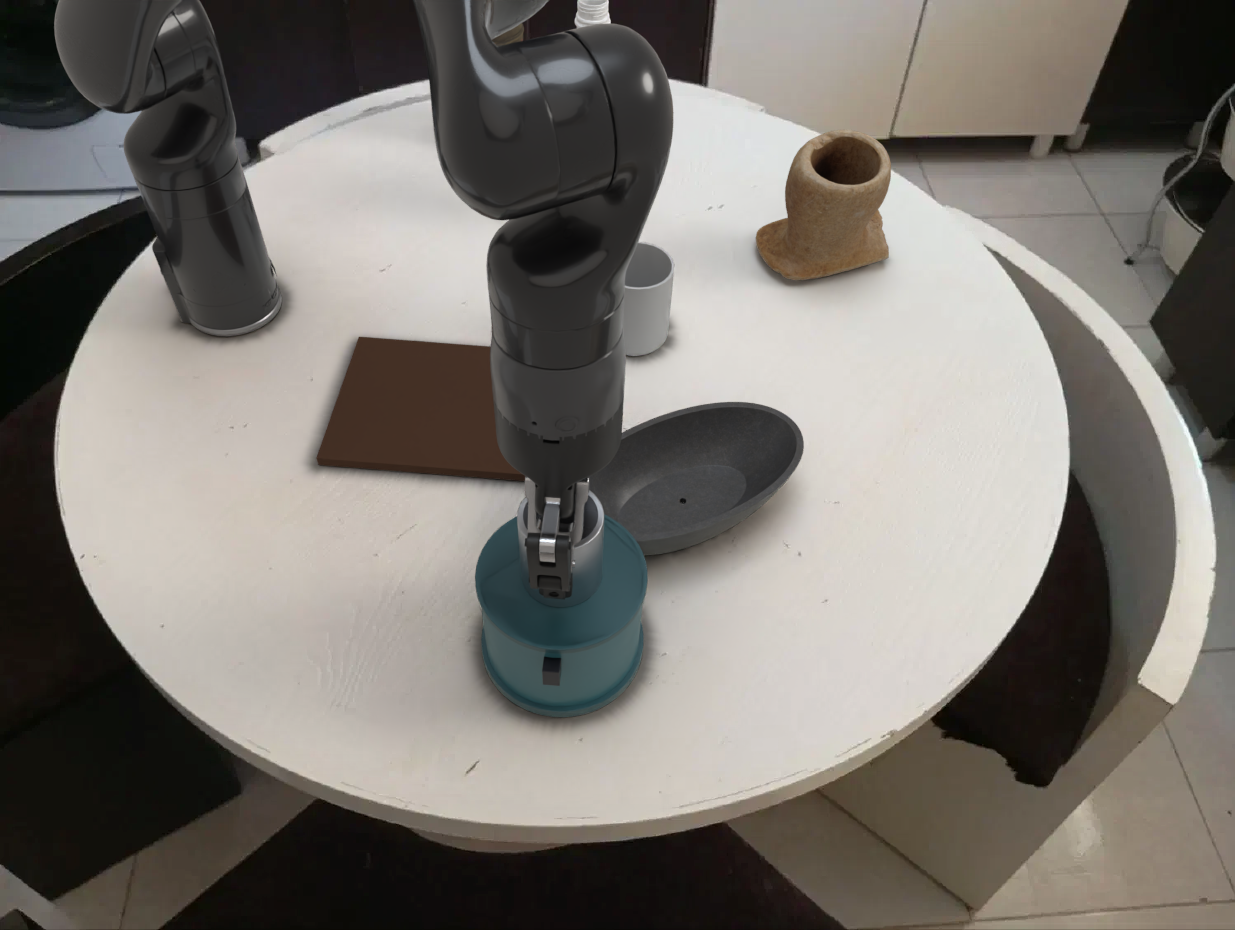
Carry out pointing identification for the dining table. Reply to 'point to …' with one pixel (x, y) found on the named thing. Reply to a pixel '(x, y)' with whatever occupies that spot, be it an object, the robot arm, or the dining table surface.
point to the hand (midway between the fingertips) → (561, 551)
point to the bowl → (697, 472)
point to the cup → (647, 299)
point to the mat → (416, 411)
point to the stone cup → (830, 208)
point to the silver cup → (585, 553)
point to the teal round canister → (562, 628)
